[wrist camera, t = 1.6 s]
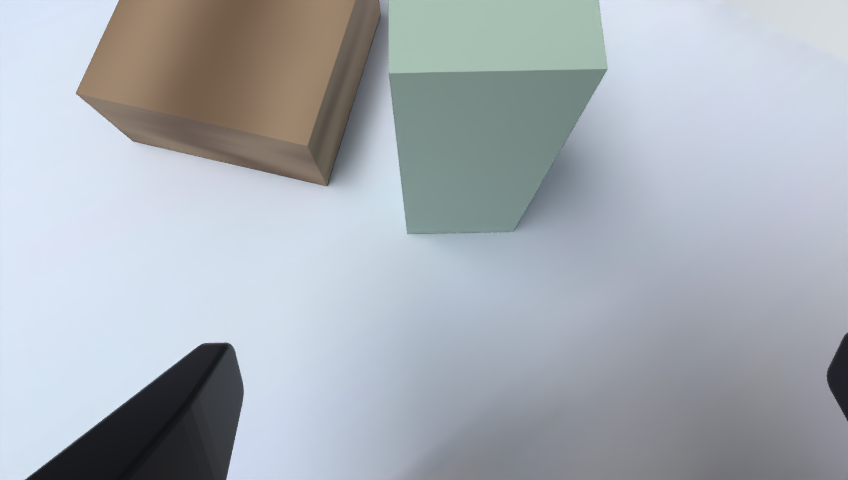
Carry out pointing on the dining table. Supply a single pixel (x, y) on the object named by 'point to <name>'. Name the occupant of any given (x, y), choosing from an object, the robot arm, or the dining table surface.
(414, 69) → the tall green block
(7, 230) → the dining table surface
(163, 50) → the walnut block
